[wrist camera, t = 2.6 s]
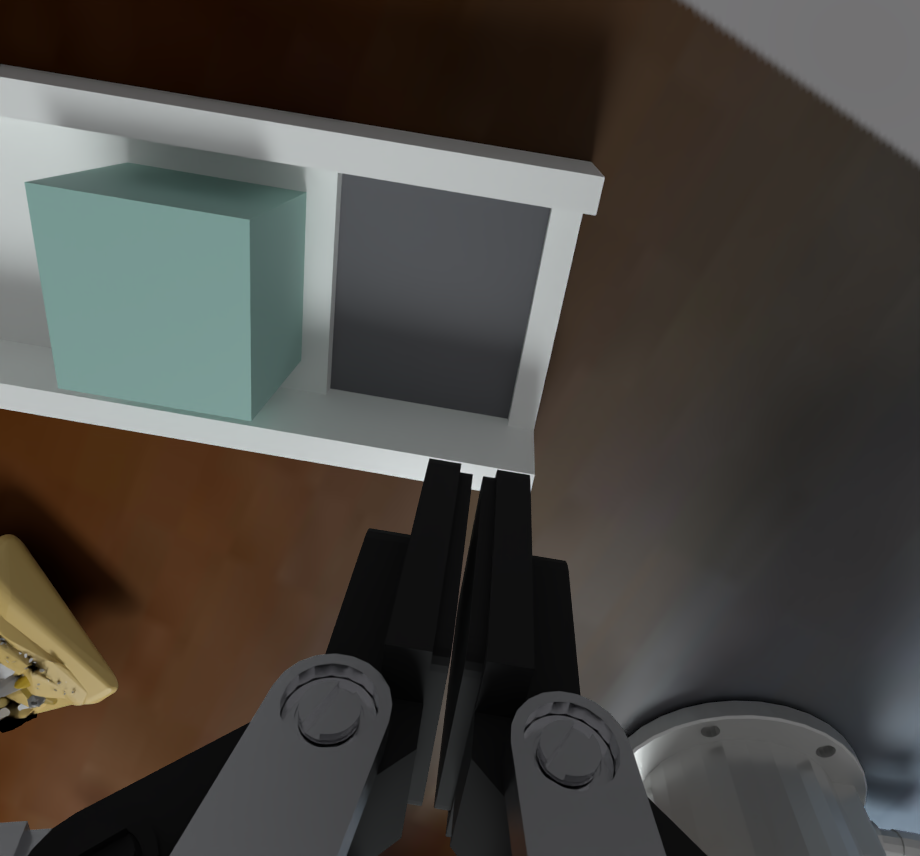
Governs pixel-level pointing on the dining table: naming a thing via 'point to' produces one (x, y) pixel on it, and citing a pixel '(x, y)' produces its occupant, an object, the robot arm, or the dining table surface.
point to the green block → (170, 285)
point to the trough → (326, 273)
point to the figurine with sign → (41, 645)
